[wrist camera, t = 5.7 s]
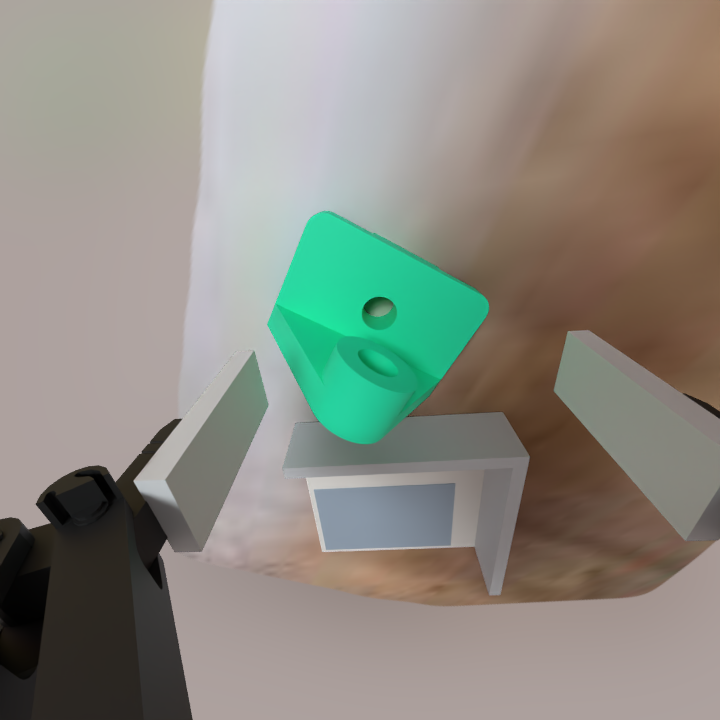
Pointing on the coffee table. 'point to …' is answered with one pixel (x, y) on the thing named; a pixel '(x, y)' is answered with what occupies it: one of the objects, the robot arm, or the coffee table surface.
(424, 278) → the camera mount
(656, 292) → the coffee table surface
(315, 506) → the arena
